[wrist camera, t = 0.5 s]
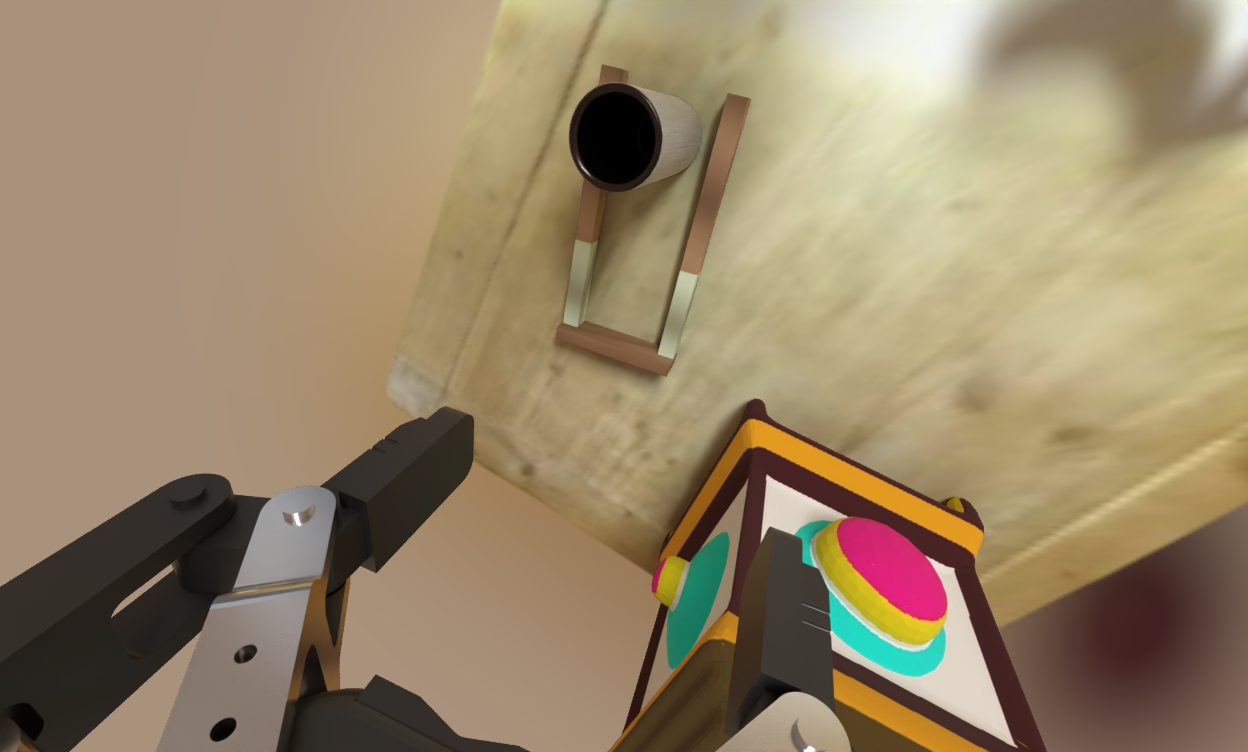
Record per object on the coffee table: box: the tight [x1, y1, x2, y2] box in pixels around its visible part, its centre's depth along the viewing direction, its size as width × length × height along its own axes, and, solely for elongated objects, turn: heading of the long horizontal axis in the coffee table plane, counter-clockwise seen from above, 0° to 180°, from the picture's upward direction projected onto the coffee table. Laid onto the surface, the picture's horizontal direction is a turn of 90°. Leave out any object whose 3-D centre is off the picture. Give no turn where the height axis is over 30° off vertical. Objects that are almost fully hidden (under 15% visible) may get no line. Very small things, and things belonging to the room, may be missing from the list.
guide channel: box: [556, 65, 751, 377], centre depth 33 cm, size 18×9×2 cm, turn 168°
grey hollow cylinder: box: [569, 82, 702, 193], centre depth 26 cm, size 4×4×10 cm
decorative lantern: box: [608, 399, 1047, 752], centre depth 27 cm, size 20×20×30 cm
